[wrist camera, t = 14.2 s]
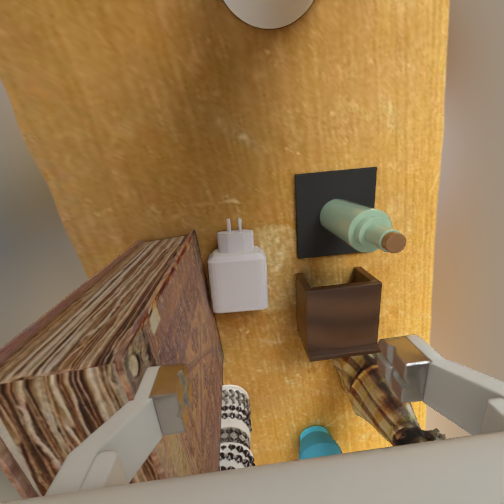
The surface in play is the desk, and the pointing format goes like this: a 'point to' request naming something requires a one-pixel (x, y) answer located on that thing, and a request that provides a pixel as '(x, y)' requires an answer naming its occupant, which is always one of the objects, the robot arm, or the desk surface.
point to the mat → (321, 192)
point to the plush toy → (380, 401)
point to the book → (113, 365)
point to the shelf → (339, 317)
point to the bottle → (361, 226)
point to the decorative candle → (235, 429)
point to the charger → (237, 272)
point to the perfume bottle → (317, 443)
